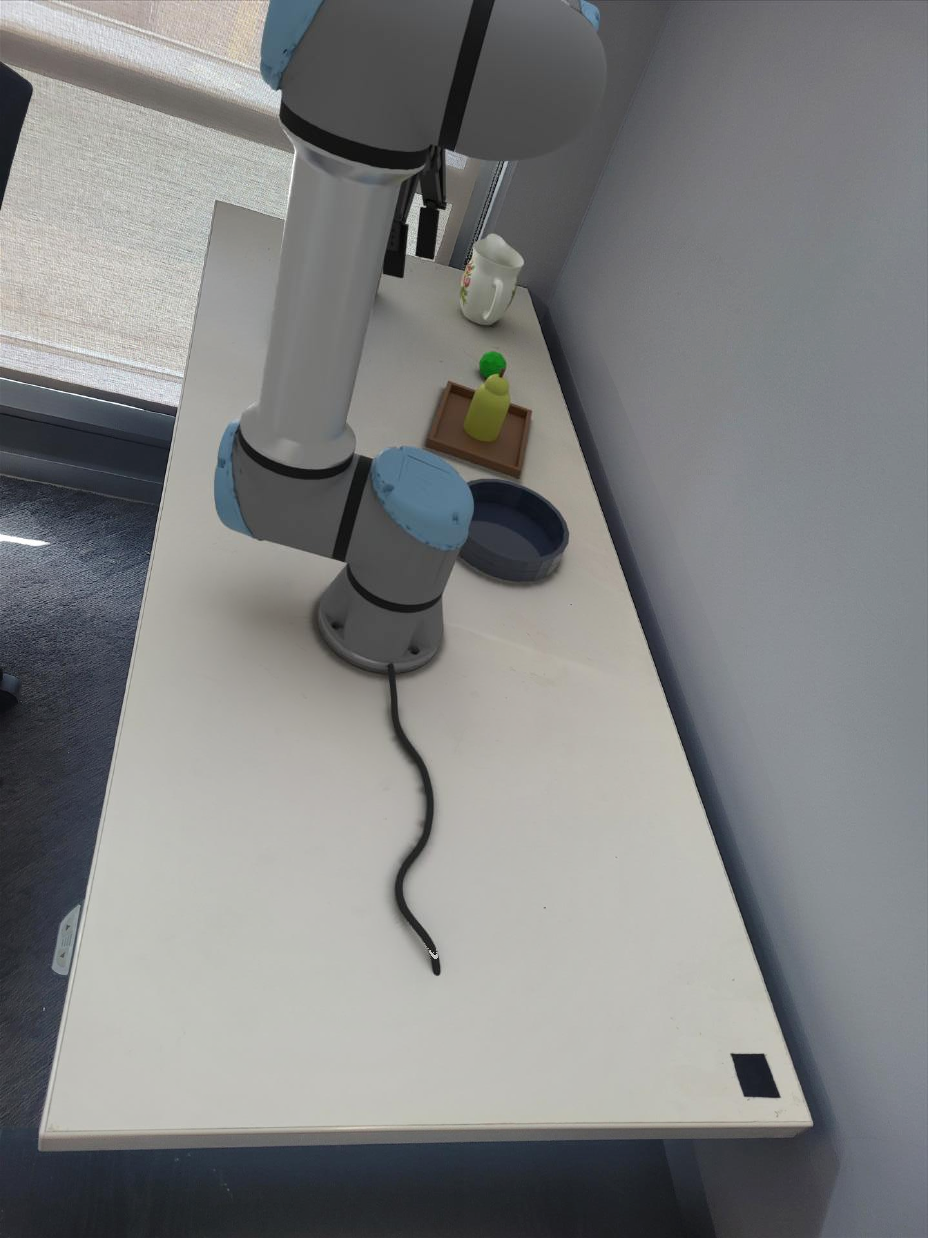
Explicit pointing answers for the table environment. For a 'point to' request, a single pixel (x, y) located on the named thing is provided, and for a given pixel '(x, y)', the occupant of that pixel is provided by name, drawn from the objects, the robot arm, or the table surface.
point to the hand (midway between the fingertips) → (409, 266)
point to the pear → (488, 408)
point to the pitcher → (489, 280)
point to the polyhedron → (491, 363)
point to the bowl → (513, 532)
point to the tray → (457, 443)
